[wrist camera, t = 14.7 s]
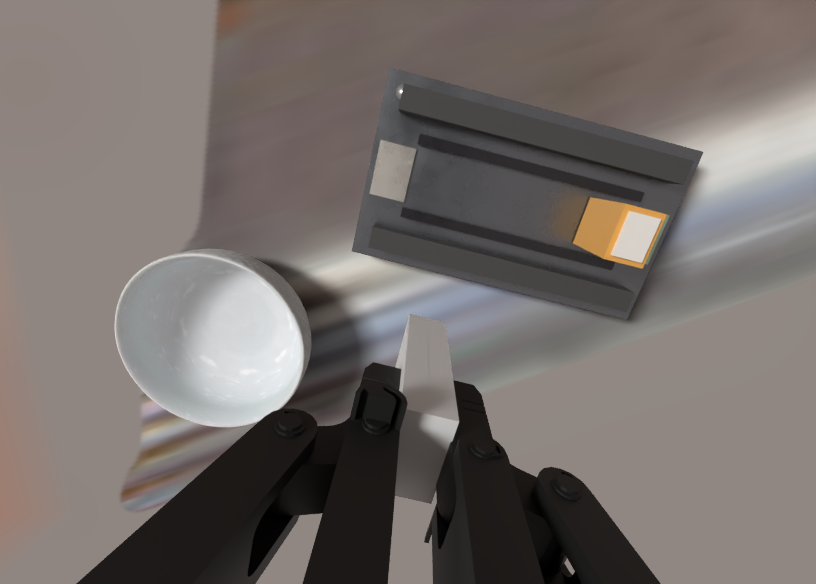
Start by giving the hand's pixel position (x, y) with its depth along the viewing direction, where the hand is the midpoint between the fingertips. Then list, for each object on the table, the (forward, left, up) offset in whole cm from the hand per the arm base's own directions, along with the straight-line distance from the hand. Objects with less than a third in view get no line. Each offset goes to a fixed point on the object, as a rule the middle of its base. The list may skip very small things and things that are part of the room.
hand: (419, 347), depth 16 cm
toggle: (-6, +14, -19) cm, 25 cm away
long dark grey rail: (-11, +7, -19) cm, 24 cm away
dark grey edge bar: (-1, +7, -19) cm, 21 cm away
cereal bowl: (+12, -16, -23) cm, 30 cm away
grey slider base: (-6, +7, -22) cm, 24 cm away
